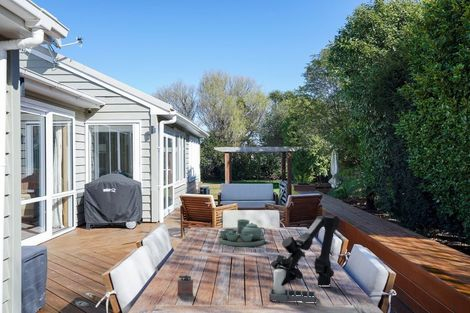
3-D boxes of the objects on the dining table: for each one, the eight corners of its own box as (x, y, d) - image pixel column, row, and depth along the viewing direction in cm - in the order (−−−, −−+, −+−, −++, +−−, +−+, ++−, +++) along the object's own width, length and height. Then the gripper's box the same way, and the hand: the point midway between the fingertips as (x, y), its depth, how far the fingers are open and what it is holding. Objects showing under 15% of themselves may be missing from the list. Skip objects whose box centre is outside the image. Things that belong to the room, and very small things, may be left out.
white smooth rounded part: (282, 293, 200) (282, 268, 200) (287, 298, 194) (287, 271, 195) (271, 294, 199) (272, 269, 199) (276, 299, 193) (276, 272, 193)
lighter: (193, 293, 201) (193, 274, 201) (192, 295, 197) (193, 276, 197) (177, 293, 200) (177, 273, 200) (176, 295, 197) (177, 275, 197)
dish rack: (315, 297, 199) (315, 290, 199) (316, 304, 189) (316, 296, 189) (270, 294, 202) (270, 287, 202) (269, 300, 192) (269, 293, 192)
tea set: (211, 239, 341) (211, 220, 341) (251, 236, 359) (251, 218, 359) (230, 248, 305) (230, 227, 306) (274, 245, 323) (274, 225, 323)
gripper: (273, 245, 207) (257, 269, 200) (299, 252, 192) (282, 279, 185) (284, 258, 211) (268, 282, 205) (309, 266, 196) (293, 292, 190)
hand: (277, 283), depth 196 cm, fingers closed on white smooth rounded part, 6 cm apart
